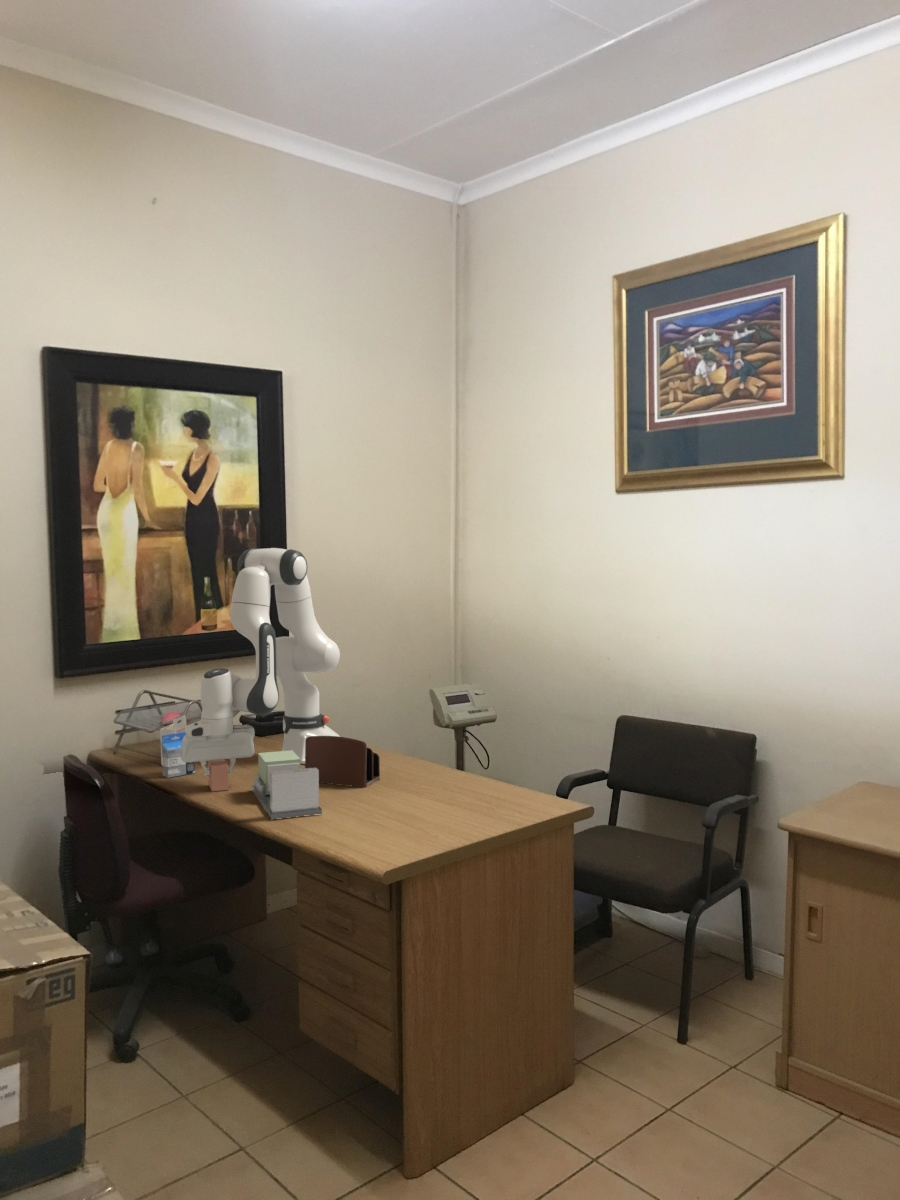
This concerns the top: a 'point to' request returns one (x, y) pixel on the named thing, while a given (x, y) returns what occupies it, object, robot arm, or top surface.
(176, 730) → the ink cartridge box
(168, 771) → the label tape box
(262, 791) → the tray
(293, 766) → the pale green block
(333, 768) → the letter holder
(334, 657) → the robot arm
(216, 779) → the block
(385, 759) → the top surface
